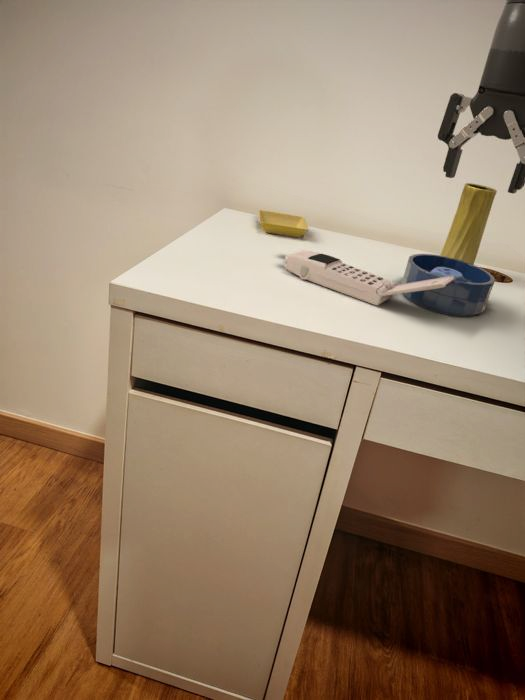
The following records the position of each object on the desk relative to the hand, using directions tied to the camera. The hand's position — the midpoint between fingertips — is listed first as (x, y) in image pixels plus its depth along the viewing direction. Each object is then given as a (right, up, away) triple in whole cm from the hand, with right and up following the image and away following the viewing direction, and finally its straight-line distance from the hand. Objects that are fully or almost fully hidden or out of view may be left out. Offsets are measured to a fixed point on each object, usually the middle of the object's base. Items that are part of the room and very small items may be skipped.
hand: (480, 184), depth 79 cm
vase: (+4, -8, +24) cm, 26 cm away
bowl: (-3, -15, +7) cm, 17 cm away
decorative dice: (-3, -15, +7) cm, 17 cm away
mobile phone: (-16, -14, +4) cm, 22 cm away
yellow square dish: (-26, -1, +28) cm, 38 cm away
